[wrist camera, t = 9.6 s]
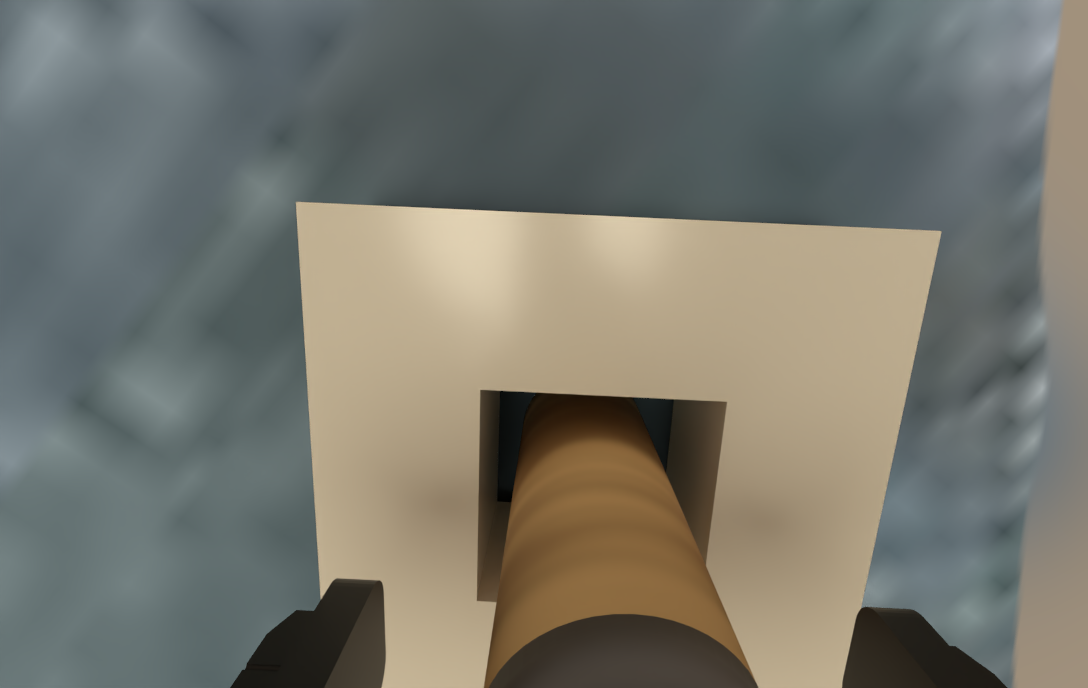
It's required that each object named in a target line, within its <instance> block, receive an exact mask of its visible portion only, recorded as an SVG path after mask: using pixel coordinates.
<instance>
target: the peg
mask: <svg viewBox="0 0 1088 688" xmlns="http://www.w3.org/2000/svg"><path fill="white" fill-rule="evenodd" d="M484 688H758V686H757V683H756V681H755V679H754V676H753V674H752V672H751V669H750V667H749V665H748V662H747V660H746V658H745V656H744V653H743V651H742V649H741V646H740V644H739V642H738V639H737V637H736V635H735V632H734V630H733V628H732V625H731V623H730V621H729V618H728V616H727V614H726V611H725V609H724V607H723V605H722V602H721V600H720V598H719V595H718V593H717V591H716V588H715V586H714V584H713V581H712V579H711V577H710V574H709V572H708V570H707V567H706V565H705V563H704V560H703V558H702V556H701V553H700V551H699V549H698V547H697V544H696V542H695V540H694V537H693V535H692V533H691V530H690V528H689V526H688V523H687V521H686V519H685V516H684V514H683V512H682V509H681V507H680V505H679V502H678V500H677V498H676V496H675V493H674V491H673V489H672V486H671V484H670V482H669V479H668V477H667V475H666V472H665V470H664V468H663V465H662V463H661V461H660V458H659V456H658V454H657V451H656V449H655V447H654V444H653V442H652V440H651V438H650V435H649V433H648V431H647V428H646V426H645V424H644V421H643V419H642V417H641V414H640V412H639V410H638V407H637V405H636V403H635V401H634V400H633V398H632V397H619V396H599V395H578V394H557V393H536V394H535V396H534V397H533V398H532V400H531V402H530V403H529V405H528V408H527V410H526V413H525V417H524V423H523V429H522V436H521V443H520V449H519V456H518V463H517V469H516V476H515V483H514V489H513V496H512V503H511V509H510V516H509V523H508V529H507V536H506V543H505V549H504V556H503V562H502V569H501V576H500V582H499V589H498V596H497V602H496V609H495V616H494V622H493V629H492V636H491V642H490V649H489V656H488V662H487V669H486V675H485V682H484Z"/></svg>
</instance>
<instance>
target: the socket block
mask: <svg viewBox="0 0 1088 688" xmlns="http://www.w3.org/2000/svg"><path fill="white" fill-rule="evenodd" d="M296 212H297V228H298V243H299V259H300V275H301V291H302V307H303V323H304V339H305V355H306V371H307V387H308V403H309V418H310V434H311V450H312V466H313V482H314V498H315V514H316V530H317V546H318V562H319V578H320V593H321V599H322V597H323V595H324V594H325V592H326V591H327V589H328V587H329V586H330V584H331V583H332V581H333V580H335V579H336V578H343V579H362V580H380V581H381V582H382V584H383V589H384V614H385V643H386V663H385V671H384V678H383V683H382V687H381V688H484V682H485V675H486V669H487V662H488V656H489V649H490V642H491V636H492V629H493V622H494V616H495V609H496V602H497V596H498V589H499V582H500V576H501V569H502V562H503V556H504V549H505V543H506V536H507V529H508V523H509V516H510V509H511V503H512V502H498V501H497V488H498V449H499V411H500V391H516V392H537V393H557V394H578V395H599V396H619V397H640V398H660V399H674V403H673V413H672V422H671V432H670V441H669V450H668V460H667V469H666V475H667V477H668V479H669V482H670V484H671V486H672V489H673V491H674V493H675V496H676V498H677V500H678V502H679V505H680V507H681V509H682V512H683V514H684V516H685V519H686V521H687V523H688V526H689V528H690V530H691V533H692V535H693V537H694V540H695V542H696V544H697V547H698V549H699V551H700V553H701V556H702V558H703V560H704V563H705V565H706V567H707V570H708V572H709V574H710V577H711V579H712V581H713V584H714V586H715V588H716V591H717V593H718V595H719V598H720V600H721V602H722V605H723V607H724V609H725V611H726V614H727V616H728V618H729V621H730V623H731V625H732V628H733V630H734V632H735V635H736V637H737V639H738V642H739V644H740V646H741V649H742V651H743V653H744V656H745V658H746V660H747V662H748V665H749V667H750V669H751V672H752V674H753V676H754V679H755V681H756V683H757V686H758V688H842V681H843V676H844V671H845V666H846V662H847V657H848V653H849V648H850V643H851V639H852V634H853V630H854V625H855V620H856V617H857V614H858V612H859V611H860V609H861V605H862V600H863V596H864V591H865V586H866V582H867V577H868V572H869V568H870V563H871V558H872V554H873V549H874V544H875V540H876V535H877V530H878V526H879V521H880V516H881V512H882V507H883V502H884V498H885V493H886V488H887V484H888V479H889V474H890V470H891V465H892V460H893V456H894V451H895V446H896V442H897V437H898V432H899V428H900V423H901V418H902V414H903V409H904V404H905V399H906V395H907V390H908V385H909V381H910V376H911V371H912V367H913V362H914V357H915V353H916V348H917V343H918V339H919V334H920V329H921V325H922V320H923V315H924V311H925V306H926V301H927V297H928V292H929V287H930V283H931V278H932V273H933V269H934V264H935V259H936V255H937V250H938V245H939V241H940V236H941V231H927V230H905V229H883V228H861V227H839V226H817V225H794V224H772V223H750V222H728V221H706V220H684V219H662V218H640V217H618V216H595V215H573V214H551V213H529V212H507V211H485V210H463V209H441V208H418V207H396V206H374V205H352V204H330V203H308V202H296Z"/></svg>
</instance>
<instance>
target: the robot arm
mask: <svg viewBox="0 0 1088 688" xmlns="http://www.w3.org/2000/svg"><path fill="white" fill-rule="evenodd" d="M385 663H386V643H385V614H384V589H383V584H382V582H381V581H380V580H362V579H343V578H336V579H335V580H333V581H332V583H331V584H330V586H329V587H328V589H327V591H326V592H325V594H324V595H323V597H322V599H321V600H320V602H319V604H318V605H317V607H316V609H315V610H314V611H303V610H296V611H295V612H294V613H292V614H291V615H290V616H289V617H287V618H286V619H285V620H284V621H282V622H281V623H280V624H279V625H278V626H276V627H275V628H274V629H273V630H271V631H270V632H269V633H268V634H267V635H266V636H265V638H264V639H263V641H262V642H261V644H260V645H259V646H258V648H257V649H256V651H255V652H254V654H253V655H252V657H251V658H250V660H249V661H248V663H247V666H246V669H245V670H242V671H241V673H240V674H239V676H238V677H237V679H236V680H235V682H234V683H233V685H232V686H231V687H230V688H381V687H382V683H383V678H384V671H385ZM842 688H1007V687H1006V686H1005V685H1004V684H1003V683H1002V682H1001V681H1000V680H999V679H998V678H997V677H996V676H995V674H993V673H992V672H990V671H989V670H988V669H986V668H985V667H983V666H982V665H981V664H979V663H978V662H976V661H975V660H974V659H972V658H971V657H969V656H968V655H967V654H965V653H964V652H963V651H961V650H960V649H958V648H957V647H956V646H949V645H948V644H947V643H946V642H945V641H944V639H943V638H942V637H941V636H940V635H939V634H938V633H937V632H936V631H935V630H934V628H933V627H932V626H931V625H930V624H929V623H928V622H927V621H926V620H925V619H924V617H922V616H921V615H920V614H919V613H918V612H916V611H914V610H910V609H895V608H875V607H864V608H862V609H860V611H859V612H858V614H857V617H856V620H855V625H854V630H853V634H852V639H851V643H850V648H849V653H848V657H847V662H846V666H845V671H844V676H843V681H842Z"/></svg>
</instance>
